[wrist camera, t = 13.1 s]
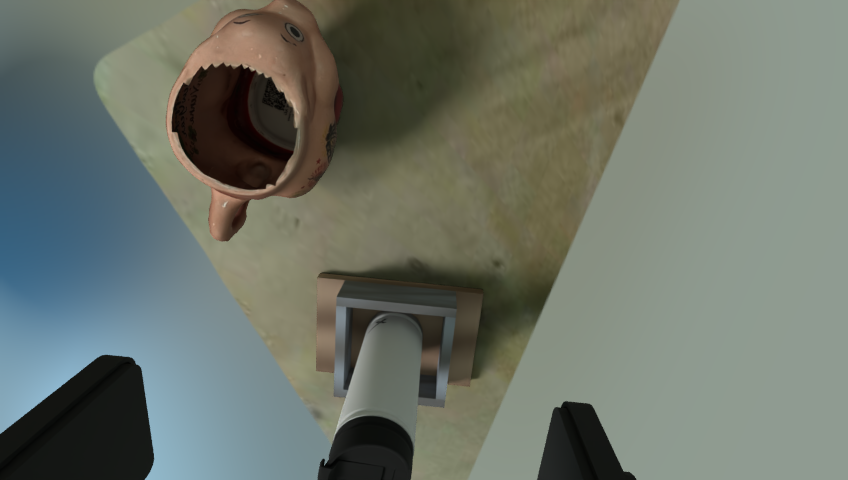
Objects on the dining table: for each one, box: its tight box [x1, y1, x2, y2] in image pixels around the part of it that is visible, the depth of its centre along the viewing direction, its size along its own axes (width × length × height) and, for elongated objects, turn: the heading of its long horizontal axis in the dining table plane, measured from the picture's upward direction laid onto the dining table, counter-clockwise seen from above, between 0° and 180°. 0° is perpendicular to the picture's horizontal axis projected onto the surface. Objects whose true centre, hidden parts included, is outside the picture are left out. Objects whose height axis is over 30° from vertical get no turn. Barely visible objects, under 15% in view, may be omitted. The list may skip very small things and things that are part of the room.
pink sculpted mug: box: [166, 0, 343, 241], centre depth 37 cm, size 20×12×14 cm, turn 162°
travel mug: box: [318, 311, 423, 480], centre depth 40 cm, size 6×7×20 cm
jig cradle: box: [316, 273, 483, 408], centre depth 48 cm, size 12×18×5 cm, turn 85°
